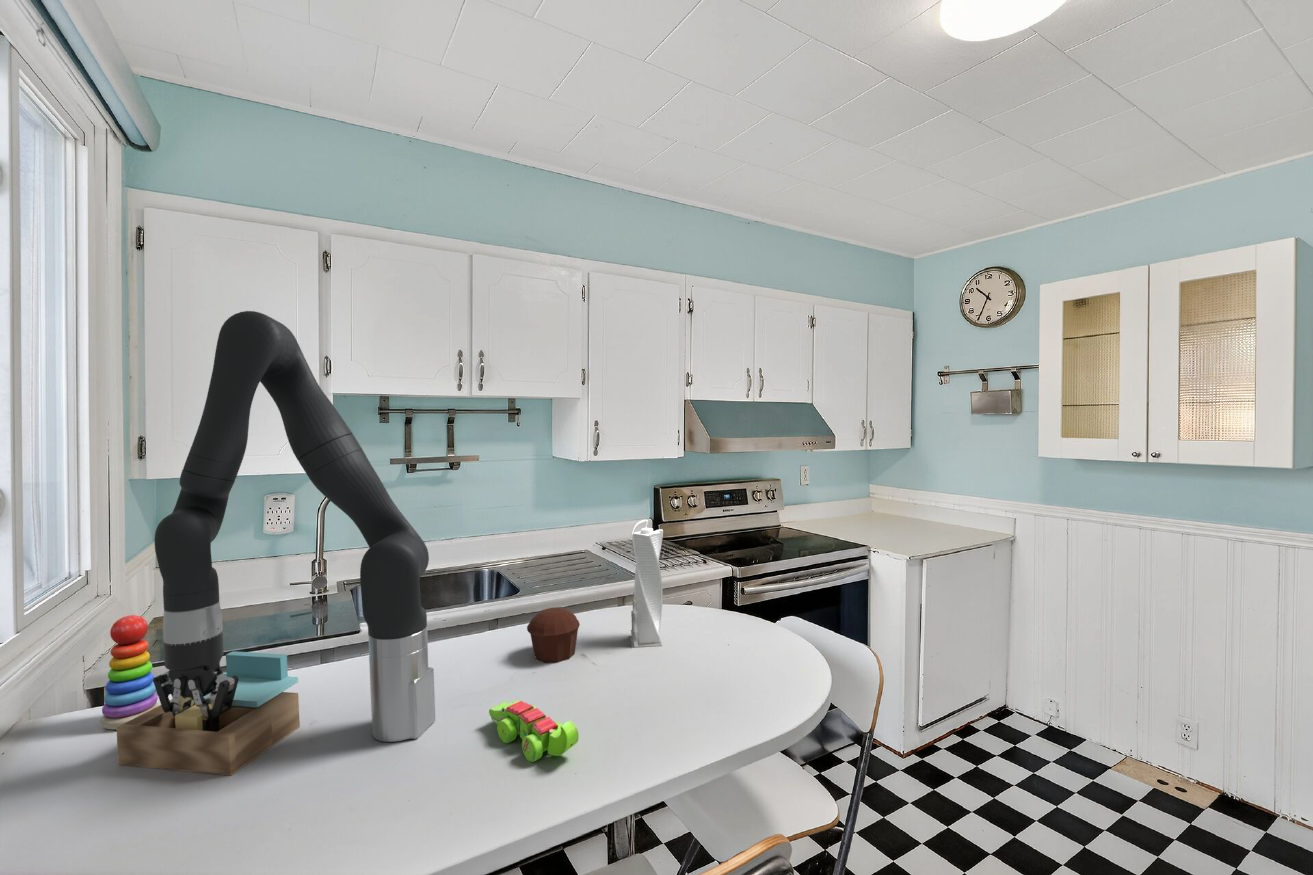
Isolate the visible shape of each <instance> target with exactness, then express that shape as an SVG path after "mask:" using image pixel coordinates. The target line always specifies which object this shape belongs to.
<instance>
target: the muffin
mask: <svg viewBox="0 0 1313 875" xmlns="http://www.w3.org/2000/svg"><path fill="white" fill-rule="evenodd" d="M580 625H581V624H580V621H579V620H578V618H577V616H576V615H575V614H574V613H573V612H572V611H570V610H568V609H566V608H563V607H557V606H555V607H548V608H546V609H542V610H541V611H539V612H538V613H537V614H536V615H534V616H533V617H532V618H531V620H530V622H529V623H528V625H527V626H526V630H527V633H529V634H530V640H531V645H532V649H533V650H532V651H533V655H534V658H535V660H536V661H538V662H542V663H543V664H549V663H553V664H554V663H555V664H556V663H557V664H558V663H560V662H563V661H568V660H570V659H571V658H572V657H573V656H574V655H575V654H576V649H577V648H576V647H577V640H578V632H579V627H580Z"/></svg>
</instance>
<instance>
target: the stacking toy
mask: <svg viewBox="0 0 1313 875" xmlns="http://www.w3.org/2000/svg"><path fill="white" fill-rule="evenodd" d="M148 630H149V626H148V622H147V620H146V619H145V618H144V617H142V616H140V615H135V614H133V615H126V616H122V617H121V618H119V619H117V620H116V621H115V622H113V624H112V625H111V628H110V632H109V635H110V638H111V639H112V641H113V642H114V643H116V644H115V645H114V646H112V648H110V655H111V656H112V657H111V659H110V660H109V662H108V665H109V668H110V670H109V671H108V672H107V678H108V681H107V683H106V684H105V691H106V693H105V695H104V699H103V700H104V704H103V706H102V709H101V713H102V715H103V716H102V717H101V720H100V726H102V727H103V728H105V729H107V730H116V727H118V726H120V725H122V724H124V723H126V722H128V721H130V720H132V719H134V718H136V717H138V716H140V715H142V714H144V713H146V712H148V711H150V710H152V709H154V708H156V707H158V706H160V704H159V703H158V702H157V701H158V699H159V697H158V694H157V691H156V688H155V685H154V682H153V679H154V678H155V675H154V673H153V672H152V670H153V664H152V662H151V661H150V657H151V655H150V653H149V652H148V651H147V650H148V648H149V642H148V641H147V640H145V639H144V637H146V634H147V632H148Z"/></svg>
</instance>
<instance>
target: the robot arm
mask: <svg viewBox="0 0 1313 875" xmlns="http://www.w3.org/2000/svg"><path fill="white" fill-rule="evenodd" d="M217 336H218V337H217V342H216V345H215V346H216V347H215V353H214V358H213V367H212V372H211V377H210V382H209V385H208V390H207V394H206V400H205V404H204V407H203V411H202V414H201V418H200V421H199V425H198V427H197V430H196V433H195V436H194V439H193V441H192V444H191V447H190V449H189V452H188V455H187V457H186V460H185V462H184V464H183V469H181V473H180V476H179V486H180V487H181V489H180V491H179V494H178V497H177V499H176V502H175V506H174V508H173V510H172V512H171V513H170V514H168V515H167V516H165V517H163V518H162V519H161V521H160V522H159V523H158V525H157V527H156V529H155V532H154V533H155V534H154V552H155V557H156V560H157V564H158V569H159V573H160V576H161V578H162V599H163V619H162V639H163V640H162V641H163V660H164V667H165V669H167V670H168V671H166V672H163V673H161V674H159V675H156V676H154V679H153V681H152V682H154V685H155V688H156V691H155V692H156V694H157V696H158V699H159V702H160V705H161V706H162V709H163V711H164V712H165V713H167V712H169V711H170V712H172V714H173V716H174V717H175V715H177V714H179V713H181V712H183V711H185V710H187V709H189V708H190V707H192V706H193V703H194V701H195V705H196V706H197V707H200V711H201V714H202V718H203V720H202V724H203V731H213V732H218V731H220V715H221V714H222V713H224V712H226V711H228V710H229V709H231V707H232V703H233V699H234V696H235V692H236V688H237V684H238V681H239V678H238V677H237V676H236V675H234V676H232V677H227V676H225V675H223V673H224V672H223V670H222V668H221V665H220V662H221V660H222V658H223V656H224V653H225V652H224V651H225V650H224V649H225V648H224V633H223V631H224V630H223V629H224V628H223V613H222V608H221V602H220V585H219V584H220V582H219V576H218V572H217V570H216V568H215V567H213V562H212V561H213V560H212V548H211V546H212V543H213V541H214V540H215V539H216V538H217V537H218V534H219V532H220V531H221V527H222V524H223V521H224V519H225V515H226V510H227V506H228V503H229V502H228V501H229V495H230V492H231V491H232V488H233V486H234V484H235V482H236V479H237V476H238V474H239V472H240V468H241V466H242V463H243V460H244V457H245V454H246V450H247V445H248V437H249V427H250V416H251V409H252V403H253V400H254V397H255V394H256V393H257V392H256V391H257V389H258V386H259V384H260V383H261V384H262V386H263V388H264V389H265V390H266V392H268V394H269V396H270V397H271V398H272V400H273V401H274V402H273V403H275V406H276V407H277V409H278V411H279V415H280V417H281V420H282V422H283V423H282V424H283V427H284V430H285V434H286V437H287V438H286V439H287V440H288V444H289V445H290V448H291V451H292V453H293V454H294V456H295V459H296V460H297V462H298V463H299V465H300V466H301V468H302V470H303V471H304V472H305V474H306V476H307V477H308V479H309V480H310V482H311V483H312V485H313V486H314V487H315V488H316V489H317V490H318V491H319V492H320V493H321V494H322V496H324V497H325V498H326V499H327V500H329V501H330V502H331V503H332V504H333V505H335V506H336V507H337V508H338V509H340V510H341V511H342V512H343V513H344V514H345V515H346V516H348V518H349V519H350V520H352V522H353V524H355V526H356V527H357V528H358V530H359V532H360V534H361V535H362V537H363V538H364V540H365V542H366V544H367V546H368V549H367V550H366V551H365V553H364V554H363V556H362V559H361V563H360V567H359V568H360V569H359V570H360V571H359V573H360V574H359V577H360V578H359V579H360V580H359V581H360V583H359V584H360V595H361V607H362V608H361V609H362V614H363V618H364V622H365V623H366V625H367V630H368V631H367V634H368V635H367V636H368V637H367V638H368V660H369V661H368V662H369V682H370V683H369V685H370V686H369V688H370V710H371V711H370V712H371V714H370V715H371V730H372V731H371V733H372V737H373V738H374V739H375V740H378V741H380V742H384V743H385V742H386V743H390V742H395V743H396V742H401V741H404V740H405V741H406V740H409V739H414V740H416V739H418V738H420V736H421V735H422V734H423V733H424V732H425V731H427V729H428V728H429V727H430V726H431V725H432V724H433V723H434V722H435V721H436V697H435V675H434V673H435V672H434V671H435V669H434V668H433V667H431V666H429V646H428V645H429V644H428V617H427V615H428V614H427V610H426V609H425V608H424V607H423V606H422V602H421V587H420V579H421V577H422V576H423V574H424V573H425V572H426V570H427V568H428V565H429V561H430V555H429V550H428V548H427V545H426V543H425V542H424V540H423V539H422V537H421V536H420V535H419V533H418V532H417V530H415V528H414V527H413V526H412V524H411V523H410V522H409V520H408V519H407V518H406V516H404V514H403V513H402V512H401V511H400V509H399V508H398V506H397V505H396V504H395V502H394V501H393V500H392V498H391V496H390V494H389V493H388V490H387V489H386V487H385V485H384V483H383V482H382V480H381V478H380V476H379V475H378V473H377V472H376V470H375V468H374V467H373V466H372V463H371V462H370V461H369V458H368V457H367V456H368V455H366V453H365V451H364V450H363V448H362V446H361V445H360V443H359V441H358V440H357V438H356V437H355V435H354V434H353V432H352V430H351V429H350V428H349V426H348V425H347V423H346V422H345V420H344V419H343V417H342V415H340V413H339V411H338V410H337V409H336V407H335V406H334V405H333V403H332V401H331V400H330V399H329V398H328V396H327V395H326V394H325V392H324V391H323V389H322V388H321V386H320V385H319V383H318V381H317V379H316V378H315V376H314V374H313V371H312V370H311V368H310V366H309V364H308V362H307V359H306V358H305V356H304V354H303V351H302V349H301V347H300V344H299V343H298V341H297V338H296V337H295V335H294V334H293V332H292V331H291V330H290V328H288V327H287V326H286V325H285V324H284V323H281V322H280V321H278V320H277V319H274V318H272V317H271V316H269V315H267V314H265V313H262V312H258V311H254V310H245V311H240V312H237V313H234V314H232V315H231V316H229V317H227V319H226V320H224V322H223V324H222V326H221V328H220V331H219V332H218V335H217ZM210 693H211V694H210ZM208 694H210V696H208V697H206V698H204V696H206V695H208ZM170 695H171V697H172V698H171V699H172V702H171V703H170V701H169V700H170V698H169V696H170ZM210 702H211V705H212V709H210V708H209V703H210Z"/></svg>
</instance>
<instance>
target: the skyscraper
mask: <svg viewBox="0 0 1313 875" xmlns="http://www.w3.org/2000/svg"><path fill="white" fill-rule="evenodd" d="M642 523H645V527H643V528H641V529H640V530H639V531H635V530H636V527H637V526H638V525H640V524H642ZM648 523H649V520H648V519H642V520H640V521H638V522H637V523H636V524H635V525H634V527H633V529H632V531H631V539H632V546H633V554H634V559H635V573H634V586H633V587H634V592H633V596H632V597H633V599H632V610H631V611H630V612H631V613H630V614H631V630H630V635H629V641H630V647H631V649H636V648H637V649H638V648H652V647H662V646H663V645H662V644H663V643H662V641H661V637H660V629H661V623H662V614H663V613H662V612H663V580H662V578H663V577H662V573H661V568H660V563H659V561H660V555H661V550H662V543H663V538H664V537H663V536H664V530H663V528H662V529H661V528H660V529H656V530H654V528H652V527H648Z"/></svg>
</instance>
